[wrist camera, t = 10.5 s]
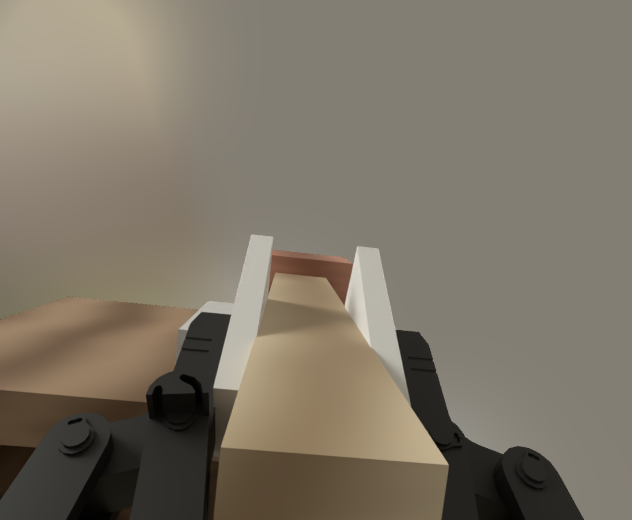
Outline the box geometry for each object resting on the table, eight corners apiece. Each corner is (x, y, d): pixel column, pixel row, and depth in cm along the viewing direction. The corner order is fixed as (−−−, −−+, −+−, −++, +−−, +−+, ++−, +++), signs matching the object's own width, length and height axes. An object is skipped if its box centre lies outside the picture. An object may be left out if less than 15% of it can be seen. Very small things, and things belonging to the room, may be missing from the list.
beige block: (83, 658, 6) (105, 360, 5) (252, 304, 30) (258, 248, 30) (524, 678, 6) (568, 401, 6) (336, 312, 31) (342, 257, 31)
